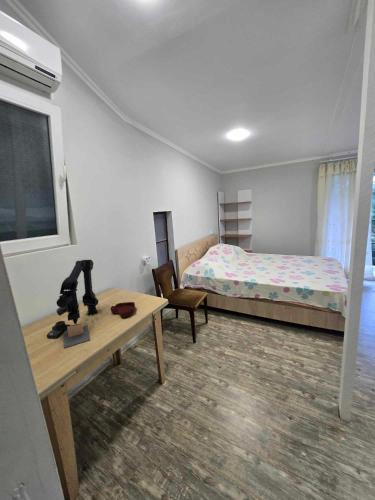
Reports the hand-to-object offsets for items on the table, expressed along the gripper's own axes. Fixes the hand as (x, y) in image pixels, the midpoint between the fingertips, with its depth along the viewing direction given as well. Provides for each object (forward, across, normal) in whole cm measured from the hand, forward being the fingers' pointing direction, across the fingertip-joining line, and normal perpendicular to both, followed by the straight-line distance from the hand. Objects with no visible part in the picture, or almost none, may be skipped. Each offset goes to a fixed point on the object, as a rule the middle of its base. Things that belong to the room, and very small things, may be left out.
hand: (75, 323), depth 128 cm
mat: (+5, +7, 0) cm, 9 cm away
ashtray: (+5, -8, +32) cm, 34 cm away
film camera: (+5, -4, -10) cm, 11 cm away
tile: (+4, +6, 0) cm, 7 cm away
